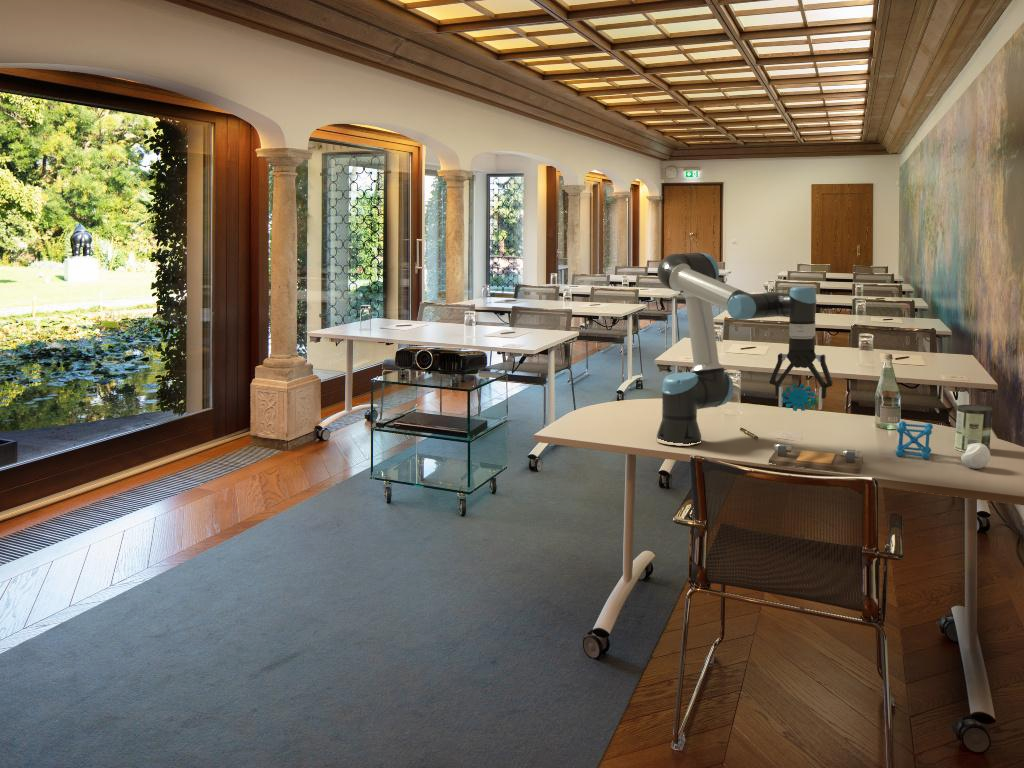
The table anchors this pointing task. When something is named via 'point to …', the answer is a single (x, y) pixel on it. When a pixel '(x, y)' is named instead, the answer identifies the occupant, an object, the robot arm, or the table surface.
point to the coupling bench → (817, 461)
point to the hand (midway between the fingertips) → (800, 407)
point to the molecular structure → (914, 439)
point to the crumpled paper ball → (976, 456)
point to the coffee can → (973, 426)
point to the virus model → (800, 397)
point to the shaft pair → (847, 453)
